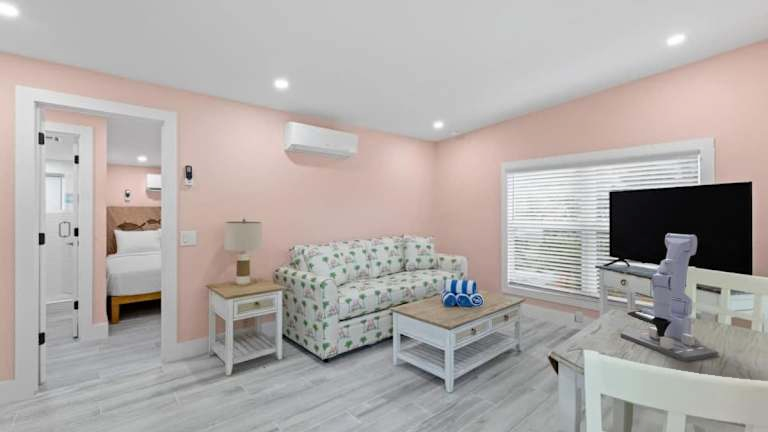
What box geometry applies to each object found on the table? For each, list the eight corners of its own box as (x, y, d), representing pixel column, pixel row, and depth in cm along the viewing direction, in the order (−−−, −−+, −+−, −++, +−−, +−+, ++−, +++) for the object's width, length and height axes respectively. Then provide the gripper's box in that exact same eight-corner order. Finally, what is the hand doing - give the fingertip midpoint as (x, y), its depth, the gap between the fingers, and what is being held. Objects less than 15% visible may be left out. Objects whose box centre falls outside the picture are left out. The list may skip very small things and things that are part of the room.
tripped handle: (653, 335, 142) (653, 326, 142) (660, 338, 139) (661, 329, 139) (648, 336, 141) (648, 327, 141) (656, 338, 138) (656, 330, 138)
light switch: (623, 310, 176) (648, 307, 178) (624, 316, 176) (648, 312, 178) (658, 324, 156) (685, 320, 158) (659, 330, 157) (685, 326, 158)
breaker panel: (650, 332, 150) (651, 320, 150) (717, 355, 127) (718, 342, 127) (620, 336, 145) (621, 324, 144) (684, 361, 122) (685, 347, 121)
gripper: (637, 299, 143) (635, 330, 143) (675, 309, 129) (674, 344, 129) (649, 298, 145) (647, 329, 145) (688, 308, 131) (686, 342, 132)
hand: (661, 336), depth 138 cm, fingers closed
